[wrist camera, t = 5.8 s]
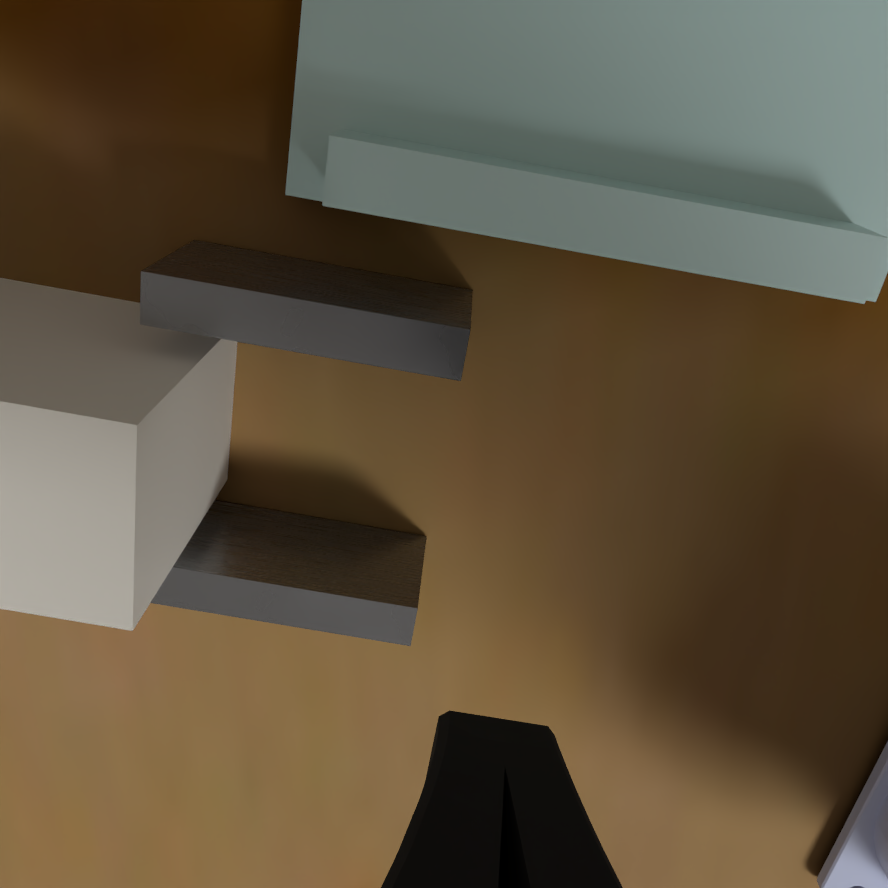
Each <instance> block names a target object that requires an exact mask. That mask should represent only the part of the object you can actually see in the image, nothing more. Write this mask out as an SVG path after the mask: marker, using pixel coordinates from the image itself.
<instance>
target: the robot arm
mask: <svg viewBox="0 0 888 888" xmlns="http://www.w3.org/2000/svg"><path fill="white" fill-rule="evenodd" d="M817 882H818V885H819V887H820V888H888V742H887V743H886V745H885V747H884V749H883V751H882V753H881V755H880V757H879V759H878V761H877V763H876V765H875V767H874V769H873V771H872V772H871V774H870V776H869V778H868V780H867V782H866V784H865V786H864V788H863V790H862V792H861V794H860V796H859V798H858V800H857V801H856V803H855V805H854V807H853V809H852V811H851V813H850V815H849V817H848V819H847V821H846V823H845V825H844V827H843V829H842V830H841V832H840V834H839V836H838V838H837V840H836V842H835V844H834V846H833V848H832V850H831V852H830V854H829V856H828V858H827V859H826V861H825V863H824V865H823V867H822V869H821V871H820V873H819V875H818V878H817ZM381 888H622V886H621V884H620V882H619V880H618V878H617V876H616V874H615V872H614V870H613V868H612V866H611V864H610V862H609V860H608V858H607V856H606V854H605V852H604V850H603V848H602V846H601V843H600V841H599V839H598V837H597V835H596V833H595V831H594V829H593V826H592V824H591V822H590V820H589V818H588V815H587V813H586V811H585V809H584V806H583V804H582V802H581V800H580V797H579V795H578V793H577V791H576V788H575V786H574V783H573V781H572V779H571V776H570V774H569V771H568V769H567V767H566V764H565V762H564V759H563V756H562V754H561V751H560V749H559V746H558V743H557V741H556V738H555V735H554V734H553V732H552V731H551V730H550V728H549V727H548V726H543V725H537V724H531V723H524V722H518V721H512V720H505V719H499V718H493V717H486V716H480V715H474V714H467V713H461V712H455V711H448V712H446V713H444V714H443V715H441V716H439V718H438V723H437V728H436V733H435V737H434V742H433V747H432V752H431V757H430V762H429V766H428V771H427V776H426V781H425V784H424V787H423V790H422V793H421V796H420V799H419V802H418V804H417V807H416V809H415V812H414V814H413V817H412V819H411V822H410V824H409V826H408V829H407V831H406V834H405V836H404V839H403V841H402V844H401V846H400V849H399V851H398V853H397V855H396V858H395V860H394V862H393V864H392V866H391V868H390V870H389V872H388V874H387V876H386V878H385V880H384V883H383V885H382V887H381Z"/></svg>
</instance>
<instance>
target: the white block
mask: <svg viewBox="0 0 888 888" xmlns="http://www.w3.org/2000/svg"><path fill="white" fill-rule="evenodd" d="M236 355H237V342H236V341H231V340H225V339H219V338H214V337H208V336H202V335H197V334H191V333H185V332H180V331H174V330H168V329H163V328H157V327H151V326H146V325H140V303H138V302H132V301H127V300H121V299H116V298H110V297H105V296H99V295H94V294H88V293H82V292H77V291H71V290H66V289H60V288H55V287H49V286H44V285H38V284H33V283H27V282H21V281H16V280H10V279H5V278H0V609H6V610H11V611H17V612H23V613H29V614H35V615H41V616H47V617H53V618H59V619H65V620H71V621H77V622H83V623H89V624H95V625H101V626H107V627H113V628H119V629H125V630H131V631H133V630H134V628H135V626H136V625H137V623H138V622H139V620H140V618H141V617H142V615H143V614H144V612H145V610H146V609H147V607H148V606H149V604H150V602H151V601H152V599H153V598H154V596H155V594H156V593H157V591H158V590H159V588H160V586H161V585H162V583H163V582H164V580H165V578H166V577H167V575H168V574H169V572H170V570H171V569H172V567H173V566H174V564H175V562H176V561H177V559H178V558H179V556H180V554H181V553H182V551H183V550H184V548H185V547H186V545H187V543H188V542H189V540H190V539H191V537H192V535H193V534H194V532H195V531H196V529H197V527H198V526H199V524H200V523H201V521H202V519H203V518H204V516H205V515H206V513H207V511H208V510H209V508H210V507H211V505H212V503H213V502H214V500H215V499H216V497H217V495H218V494H219V492H220V491H221V489H222V487H223V486H224V484H225V483H226V481H227V478H228V464H229V451H230V437H231V423H232V410H233V396H234V382H235V368H236Z"/></svg>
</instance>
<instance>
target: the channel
mask: <svg viewBox="0 0 888 888" xmlns="http://www.w3.org/2000/svg"><path fill="white" fill-rule="evenodd" d="M472 291H473V290H470V289H465V288H459V287H453V286H448V285H442V284H437V283H431V282H426V281H420V280H414V279H409V278H403V277H398V276H392V275H387V274H381V273H375V272H370V271H364V270H359V269H353V268H347V267H342V266H336V265H331V264H325V263H320V262H314V261H308V260H303V259H297V258H292V257H286V256H281V255H275V254H269V253H264V252H258V251H253V250H247V249H242V248H236V247H230V246H225V245H219V244H214V243H208V242H202V241H197V240H193V241H192V242H190V243H188V244H187V245H185V246H183V247H181V248H180V249H178V250H176V251H175V252H173V253H171V254H169V255H168V256H166V257H164V258H163V259H161V260H159V261H157V262H156V263H154V264H152V265H151V266H149V267H147V268H146V269H144V270H142V271H141V293H140V325H146V326H151V327H157V328H163V329H168V330H174V331H180V332H185V333H191V334H197V335H202V336H208V337H214V338H219V339H225V340H231V341H236V342H242V343H248V344H254V345H259V346H265V347H271V348H276V349H282V350H288V351H293V352H299V353H305V354H310V355H316V356H322V357H327V358H333V359H339V360H344V361H350V362H356V363H361V364H367V365H373V366H379V367H384V368H390V369H396V370H401V371H407V372H413V373H418V374H424V375H430V376H435V377H441V378H447V379H452V380H458V381H461V377H462V372H463V366H464V361H465V356H466V350H467V345H468V340H469V335H470V328H471V310H472ZM425 544H426V536H423V535H417V534H411V533H405V532H399V531H393V530H388V529H382V528H376V527H370V526H364V525H358V524H352V523H346V522H341V521H335V520H329V519H323V518H317V517H311V516H305V515H299V514H294V513H288V512H282V511H276V510H270V509H264V508H258V507H252V506H247V505H241V504H235V503H229V502H223V501H217V500H214V502H213V503H212V505H211V507H210V508H209V510H208V511H207V513H206V515H205V516H204V518H203V519H202V521H201V523H200V524H199V526H198V527H197V529H196V531H195V532H194V534H193V535H192V537H191V539H190V540H189V542H188V543H187V545H186V547H185V548H184V550H183V551H182V553H181V554H180V556H179V558H178V559H177V561H176V562H175V564H174V566H173V567H172V569H171V570H170V572H169V574H168V575H167V577H166V578H165V580H164V582H163V583H162V585H161V586H160V588H159V590H158V591H157V593H156V594H155V596H154V598H153V599H152V601H151V602H150V603H155V604H161V605H167V606H173V607H179V608H185V609H191V610H197V611H203V612H209V613H215V614H221V615H227V616H233V617H239V618H245V619H251V620H257V621H263V622H269V623H275V624H281V625H287V626H293V627H299V628H305V629H311V630H317V631H323V632H329V633H335V634H341V635H347V636H353V637H359V638H365V639H371V640H377V641H383V642H389V643H395V644H401V645H407V646H410V645H411V640H412V635H413V630H414V624H415V619H416V614H417V609H418V601H419V593H420V585H421V576H422V568H423V560H424V552H425Z"/></svg>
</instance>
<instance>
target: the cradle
mask: <svg viewBox="0 0 888 888" xmlns="http://www.w3.org/2000/svg"><path fill="white" fill-rule="evenodd" d="M285 195H289V196H294V197H300V198H305V199H311V200H317V201H322V206H326V207H332V208H337V209H343V210H349V211H354V212H360V213H365V214H371V215H376V216H382V217H387V218H393V219H398V220H404V221H409V222H415V223H420V224H426V225H431V226H437V227H442V228H448V229H453V230H459V231H464V232H470V233H475V234H481V235H486V236H492V237H497V238H503V239H508V240H514V241H519V242H525V243H531V244H536V245H542V246H547V247H553V248H558V249H564V250H569V251H575V252H580V253H586V254H591V255H597V256H602V257H608V258H613V259H619V260H624V261H630V262H635V263H641V264H646V265H652V266H657V267H663V268H668V269H674V270H679V271H685V272H690V273H696V274H701V275H707V276H712V277H718V278H724V279H729V280H735V281H740V282H746V283H751V284H757V285H762V286H768V287H773V288H779V289H784V290H790V291H795V292H801V293H806V294H812V295H817V296H823V297H828V298H834V299H839V300H845V301H850V302H856V303H861V304H865V301H866V300H868V301H873V302H876V300H877V298H878V295H879V293H880V290H881V288H882V285H883V283H884V280H885V277H886V275H887V272H888V0H302V9H301V20H300V32H299V43H298V55H297V66H296V78H295V89H294V100H293V112H292V123H291V135H290V146H289V158H288V169H287V180H286V192H285Z"/></svg>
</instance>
